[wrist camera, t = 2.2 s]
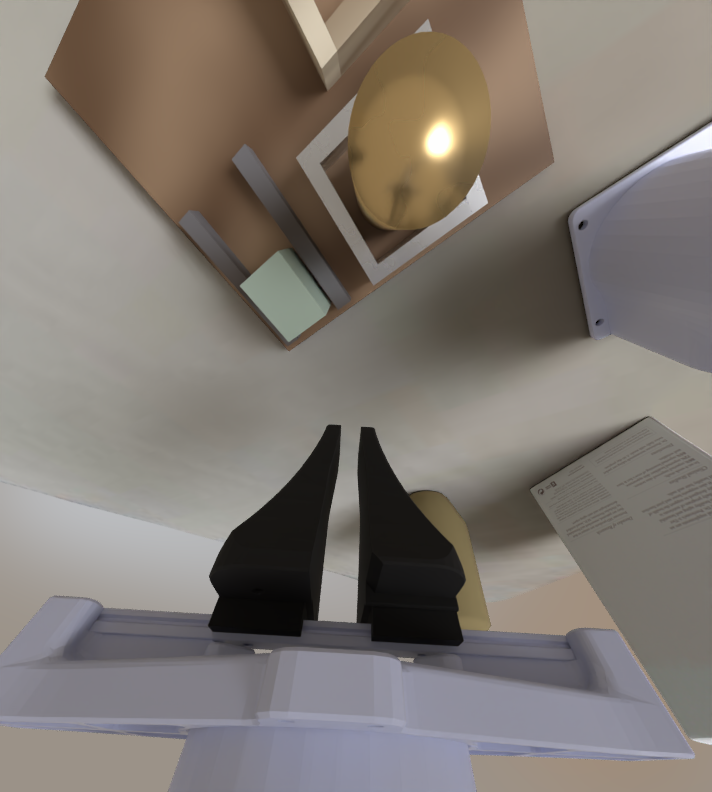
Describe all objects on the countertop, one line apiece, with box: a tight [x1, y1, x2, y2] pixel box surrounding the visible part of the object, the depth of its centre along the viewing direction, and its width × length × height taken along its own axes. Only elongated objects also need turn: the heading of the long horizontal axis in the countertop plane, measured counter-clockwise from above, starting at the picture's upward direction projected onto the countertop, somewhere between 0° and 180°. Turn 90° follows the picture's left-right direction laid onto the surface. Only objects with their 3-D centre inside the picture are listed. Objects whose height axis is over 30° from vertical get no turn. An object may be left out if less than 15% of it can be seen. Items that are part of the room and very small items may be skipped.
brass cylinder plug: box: [348, 31, 491, 230], centre depth 10 cm, size 4×4×8 cm
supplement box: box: [530, 417, 712, 745], centre depth 21 cm, size 13×13×18 cm
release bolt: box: [240, 248, 331, 342], centre depth 16 cm, size 4×3×3 cm
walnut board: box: [45, 0, 554, 351], centre depth 13 cm, size 17×19×2 cm
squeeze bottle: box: [410, 491, 491, 631], centre depth 24 cm, size 8×8×18 cm
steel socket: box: [296, 19, 488, 286], centre depth 13 cm, size 7×7×2 cm
